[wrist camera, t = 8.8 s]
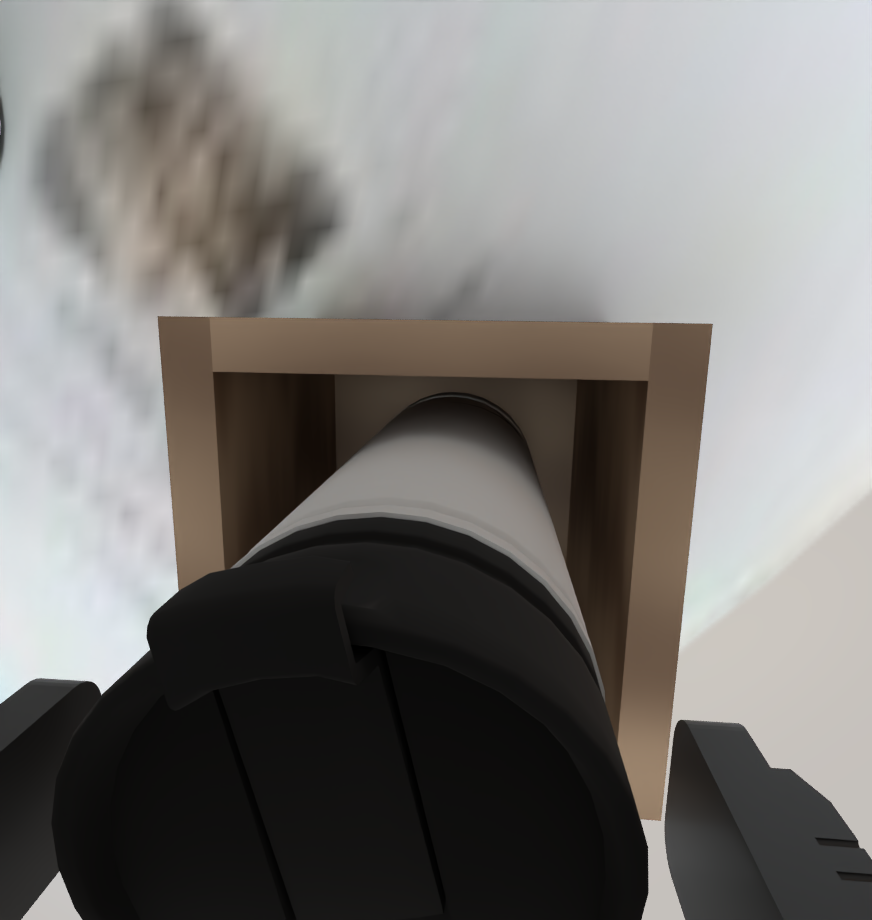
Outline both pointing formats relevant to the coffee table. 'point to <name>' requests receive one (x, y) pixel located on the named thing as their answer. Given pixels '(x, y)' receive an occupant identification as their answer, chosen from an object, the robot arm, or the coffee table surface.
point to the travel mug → (366, 713)
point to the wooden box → (517, 393)
